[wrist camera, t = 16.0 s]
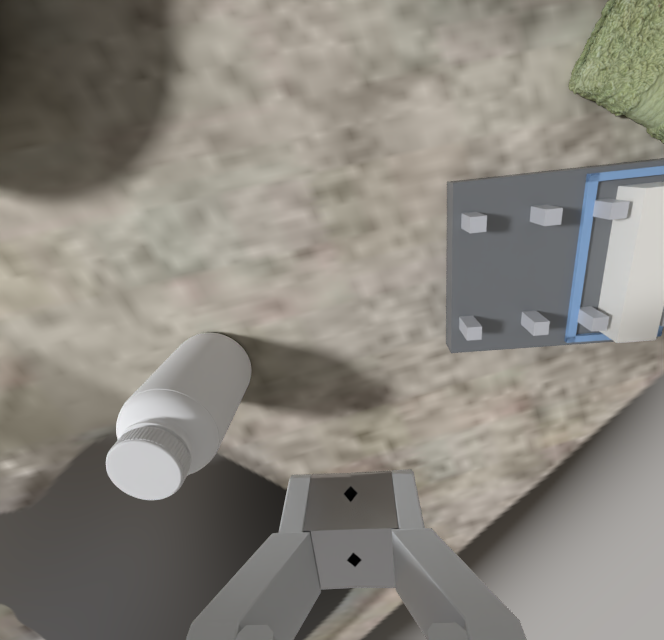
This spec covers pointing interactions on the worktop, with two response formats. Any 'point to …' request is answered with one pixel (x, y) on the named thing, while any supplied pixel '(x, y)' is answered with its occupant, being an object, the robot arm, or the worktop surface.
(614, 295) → the bar
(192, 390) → the pill bottle
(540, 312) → the board
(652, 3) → the washcloth
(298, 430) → the worktop surface
